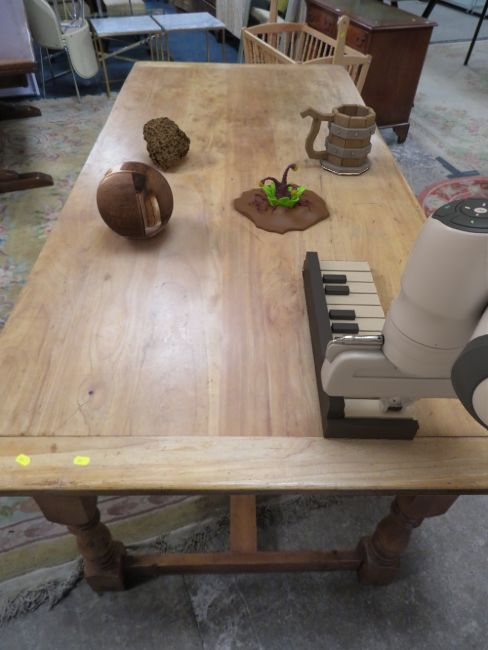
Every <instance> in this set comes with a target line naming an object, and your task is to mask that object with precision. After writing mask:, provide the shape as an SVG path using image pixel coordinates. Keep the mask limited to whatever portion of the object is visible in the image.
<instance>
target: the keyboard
mask: <svg viewBox="0 0 488 650" xmlns="http://www.w3.org/2000/svg"><path fill="white" fill-rule="evenodd" d="M319 261H325V260H321V259H319V254H318V251H309V250H308V251H306V252H305V258H304V259H303V264H302V269H303V270H301V271H302V272H301V275H302V283H303V291H304V296H305V305H306V311H307V312H306V313H307V321H308V328H309V336H310V342H311V352H312V358H313V366H314V374H315V381H316V389H317V395H318V396H317V397H318V405H319V411H320V420H321V428H322V432H323V433H322V434H323V439H335V440H336V439H338V440H339V439H341V440H381V441H382V440H385V441H386V440H387V441H413V440H414V439H415V438H416V436H417V433H418V432H419V430H420V428H421V427H420V423H419V420H418V419H414V417H413V418H412V420H395V419H347V418H343V415H342V414H343V411H344V408H345V401H344V399H372V400H380V398H379V397H353V396H329V395H328V394H327V393H326V392H325V391H324V390H323V386H322V380H321V369H322V366H323V363H324V360H325V358H326V357H325V354H326V349H327V346H328V343H329V342H330V341H332V340H334V339H337V338H342V336H343V335H346V334H353V335H380V334H381V331H382V328H383V326H384V323H385V320H386V316H385V312H384V310H383V306H382V303H381V300H380V297H379V294H378V290H377V287H376V283H375V281H374V277H373V275H372V272H371V271H370V272H339V271H321V269H320V264H319ZM358 261H359V262H368V261H367V260H365V261H363V260H362V261H361V260H358Z"/></svg>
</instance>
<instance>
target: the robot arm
mask: <svg viewBox="0 0 488 650" xmlns="http://www.w3.org/2000/svg"><path fill="white" fill-rule="evenodd" d="M385 319H386V320H385V323H384V326H383V328H382V331H381V334H380V335H353V334H346V335H343V336H342V338H337V339H334V340H332V341H330V342H329V343H328V346H327V349H326V354H325V357H326V358H325V360H324V363H323V366H322V369H321V380H322V386H323V390H324V391H325V392H326V393H327V394H328V395H329V396H353V397H379V398H380V401H379V406H380V410H381V412H382V413H385V412H386V413H404V411H405V409H406V407H408V406H410V407H411V405H413V404H416V403H417V402H419V401H420V400H421V399H451V400H452V399H455V400H456V399H458V400H459V402H460V403H461V405H462V407H464V409H465V411H467V413H468V414H469V415H470V416H471V417H472V419H474V421H476V422H477V423H478V425H480V426H482V427H483V429H486V430H487V431H488V197H486V196H469V197H465V198H460V199H454V200H452V201H449V202H447V203H445V204H442V205H441V206H439V207H438V208H437V209H436V210H434V211H433V212H431V214H430V215H429V216H428V217H427V218H426V220H425V221H424V223H423V224H422V226H421V228H420V230H419V232H418V234H417V236H416V237H415V239H414V241H413V244H412V245H411V248H410V250H409V253H408V255H407V258H406V261H405V263H404V266H403V269H402V272H401V275H400V289H399V291H398V293H397V294H396V295H395V296H394V298H393V299H392V300H391V303H390V306H389V309H388V311H387V313H386V316H385Z"/></svg>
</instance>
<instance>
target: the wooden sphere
mask: <svg viewBox="0 0 488 650" xmlns="http://www.w3.org/2000/svg"><path fill="white" fill-rule="evenodd" d="M95 197H96V198H95V199H96V200H95V201H96V206H97V211H98V213H99V215H100V217H101V219H102V220H103V222H104V223H105V225H106V226H107V227H108V228H109V229H110V230H111V231H112V232H113V233H115V234H117V235H119V236H121V237H123V238H127V239H132V240H145V239H148V238H151V237H153V236H155V235H157V234H159V233H160V232H161V231H162V230H163V229H165V227H166V226H167V225H168V224H169V222H170V220H171V217H172V216H173V212H174V202H175V201H174V194H173V191H172V187H171V185H170V183H169V181H168V180H167V179H166V177H165V176H164V175H163V173H161V172H160V171H159V170H158V169H156V168H155V167H153V166H152V165H150V164H148V163H146V162H141V161H135V160H134V161H129V160H128V161H123V162H120V163H118V164H115V165H113V166H111V168H109V169H108V170H107V171H106V172H105V173H104V174H103V176H102V177H101V179H100V181H99V183H98V185H97V189H96V196H95Z"/></svg>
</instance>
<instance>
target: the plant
mask: <svg viewBox="0 0 488 650" xmlns="http://www.w3.org/2000/svg"><path fill="white" fill-rule="evenodd" d="M290 169H291V171H292V172H297V171H298V169H299V166H298V164H296V163H290V164H288V166H287V167H286V168H285V169H284V172H283V174H282V177H281V179H280V180H278V179H277V178H275V177H273V176H267V177H265V178H263V179H260V180H259V181H258V187H259V188H252V189H251V190H247V191H243V192H242V196H241V197H236V198H234V201H233V207H234V209H235V210H236V211H237V212H238V213H239V214H241V215H243V216H245V217H246V218H247V219H248V220H250V221H251V222H252V223H253V224H254V225H255V228H257V229H259V230H263V231H264V232H268V233H274V234H278V235H284V234H286V233H288V232H304V231H306V230H309V229H310V228H312V227H313V226H315V225H317V224H319V223H321V222H323V221H324V220H326V219H328V218H329V217H330V212H329V209H328V207H327V204H326V203H327V202H325V201H326V200H324V198H322V197H321V196H319V195H318V194H317V193H316V192H314V191H313V190H310V189H307V187H306V186H300V185H298V184H296V183H294V182H293V181H290V182H288V181H287V180H288V174H289V170H290ZM266 181H272V182H270V184H268V185H265V184H266V183H265V182H266Z"/></svg>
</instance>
